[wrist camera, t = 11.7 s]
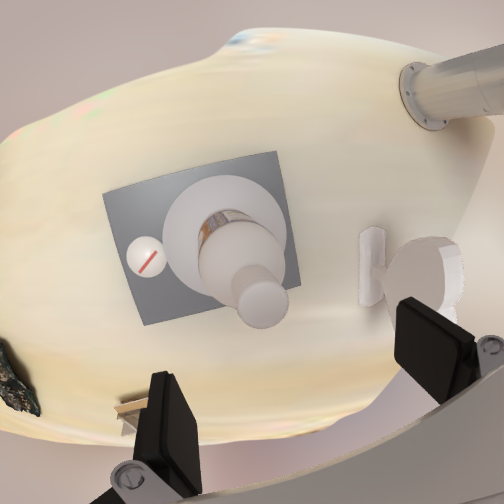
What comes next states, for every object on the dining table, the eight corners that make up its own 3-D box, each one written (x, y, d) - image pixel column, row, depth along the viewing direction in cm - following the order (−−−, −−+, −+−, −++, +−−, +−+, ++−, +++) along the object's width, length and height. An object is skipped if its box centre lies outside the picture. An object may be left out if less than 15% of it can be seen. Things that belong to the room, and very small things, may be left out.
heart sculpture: (382, 308, 47) (451, 360, 30) (357, 315, 46) (424, 374, 29) (385, 218, 43) (472, 243, 26) (358, 221, 42) (444, 250, 25)
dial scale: (271, 152, 37) (279, 149, 34) (295, 279, 42) (304, 288, 39) (107, 193, 35) (99, 194, 31) (146, 317, 39) (142, 329, 36)
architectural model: (116, 393, 42) (108, 423, 35) (149, 384, 43) (145, 414, 36) (126, 406, 43) (120, 436, 36) (159, 398, 44) (157, 428, 37)
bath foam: (196, 208, 34) (195, 247, 15) (255, 206, 35) (327, 241, 16) (199, 266, 35) (205, 364, 16) (256, 263, 37) (317, 351, 17)
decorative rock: (49, 429, 37) (-4, 421, 34) (55, 407, 43) (4, 403, 39) (4, 349, 31) (-48, 346, 28) (17, 330, 37) (-34, 330, 33)
